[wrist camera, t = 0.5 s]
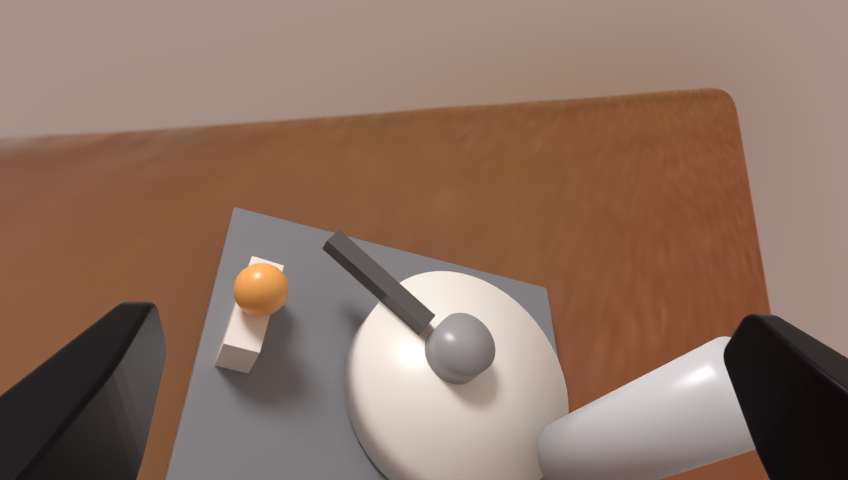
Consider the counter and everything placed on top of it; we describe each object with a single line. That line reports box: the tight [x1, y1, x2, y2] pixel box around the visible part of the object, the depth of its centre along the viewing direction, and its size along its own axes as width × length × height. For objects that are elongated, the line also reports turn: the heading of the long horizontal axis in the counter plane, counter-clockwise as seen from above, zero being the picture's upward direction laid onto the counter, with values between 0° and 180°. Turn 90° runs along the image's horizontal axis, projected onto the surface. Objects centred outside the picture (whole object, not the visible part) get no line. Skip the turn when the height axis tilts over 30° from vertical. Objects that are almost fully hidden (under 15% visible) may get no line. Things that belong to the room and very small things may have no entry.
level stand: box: [165, 207, 558, 480], centre depth 21 cm, size 16×16×5 cm
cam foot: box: [322, 230, 756, 480], centre depth 19 cm, size 14×9×10 cm, turn 55°
